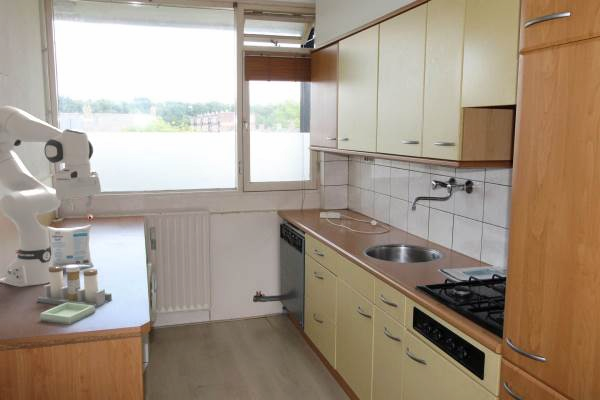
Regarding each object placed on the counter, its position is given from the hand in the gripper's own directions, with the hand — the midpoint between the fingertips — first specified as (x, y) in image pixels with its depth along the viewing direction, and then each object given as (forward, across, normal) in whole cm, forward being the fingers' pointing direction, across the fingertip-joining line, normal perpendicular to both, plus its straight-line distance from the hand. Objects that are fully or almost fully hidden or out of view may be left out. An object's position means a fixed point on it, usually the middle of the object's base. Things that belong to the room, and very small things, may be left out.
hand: (80, 208), depth 200 cm
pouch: (+33, -31, -35) cm, 57 cm away
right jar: (+34, +8, +9) cm, 36 cm away
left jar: (+34, +7, -7) cm, 35 cm away
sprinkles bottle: (+34, +7, +1) cm, 35 cm away
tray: (+34, +22, +10) cm, 41 cm away
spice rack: (+34, +7, +1) cm, 35 cm away
